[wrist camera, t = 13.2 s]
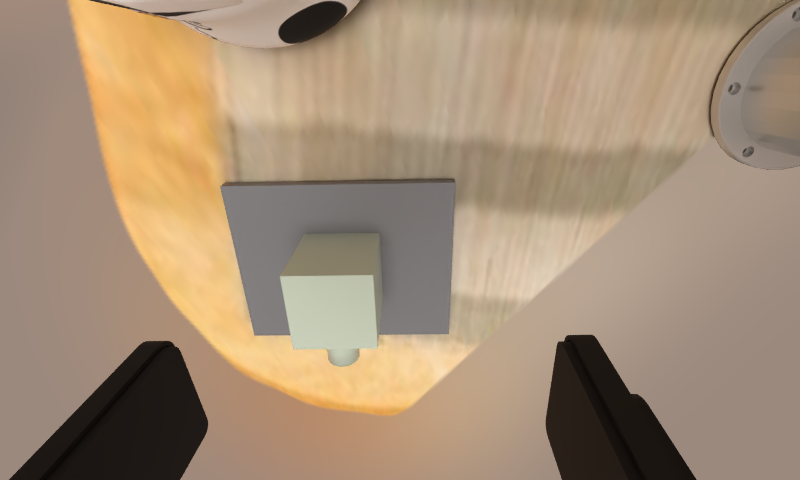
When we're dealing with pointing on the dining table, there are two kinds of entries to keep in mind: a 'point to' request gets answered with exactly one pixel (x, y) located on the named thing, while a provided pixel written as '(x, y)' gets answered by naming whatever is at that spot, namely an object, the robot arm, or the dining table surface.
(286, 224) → the board
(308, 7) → the milk container
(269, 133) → the dining table surface
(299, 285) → the block with round peg
